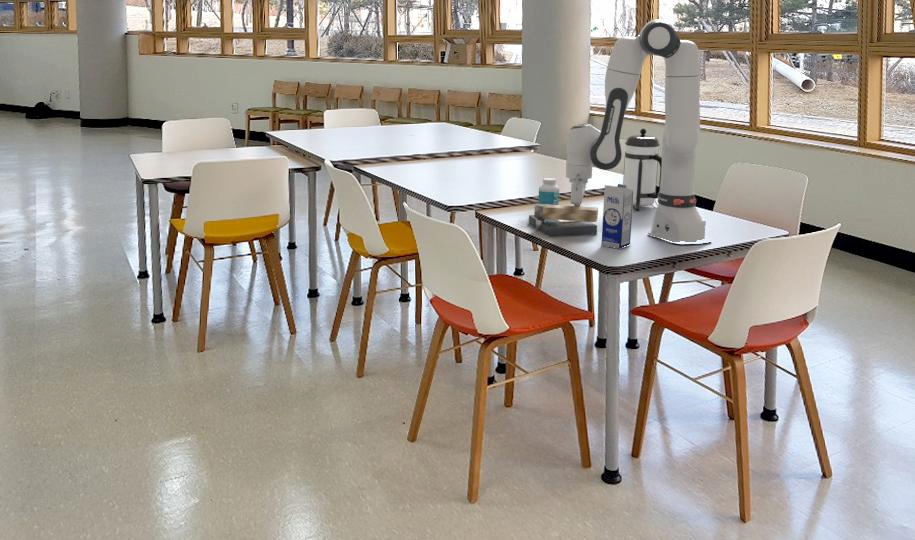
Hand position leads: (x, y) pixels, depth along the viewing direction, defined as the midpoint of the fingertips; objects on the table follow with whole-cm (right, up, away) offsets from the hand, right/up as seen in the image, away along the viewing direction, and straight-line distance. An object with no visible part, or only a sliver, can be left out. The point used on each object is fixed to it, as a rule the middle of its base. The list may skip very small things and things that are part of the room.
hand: (576, 212), depth 326 cm
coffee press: (+29, +4, +38) cm, 48 cm away
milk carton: (+10, -12, -19) cm, 25 cm away
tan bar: (-4, -2, -3) cm, 6 cm away
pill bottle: (-8, 0, +23) cm, 24 cm away
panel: (-5, -6, +3) cm, 8 cm away
